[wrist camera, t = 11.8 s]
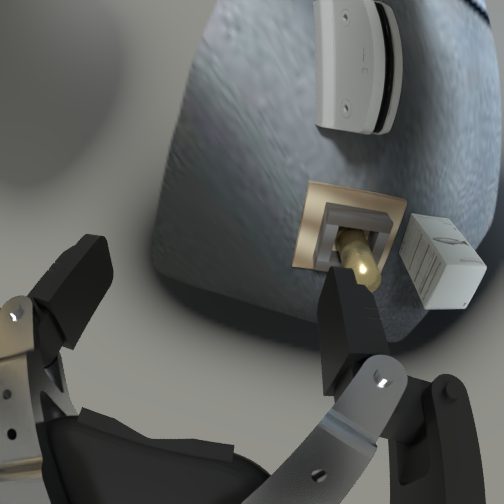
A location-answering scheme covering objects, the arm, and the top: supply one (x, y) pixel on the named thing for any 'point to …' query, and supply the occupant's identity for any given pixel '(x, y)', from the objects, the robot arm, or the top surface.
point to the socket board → (344, 198)
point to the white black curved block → (356, 65)
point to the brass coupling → (358, 256)
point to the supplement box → (440, 262)
